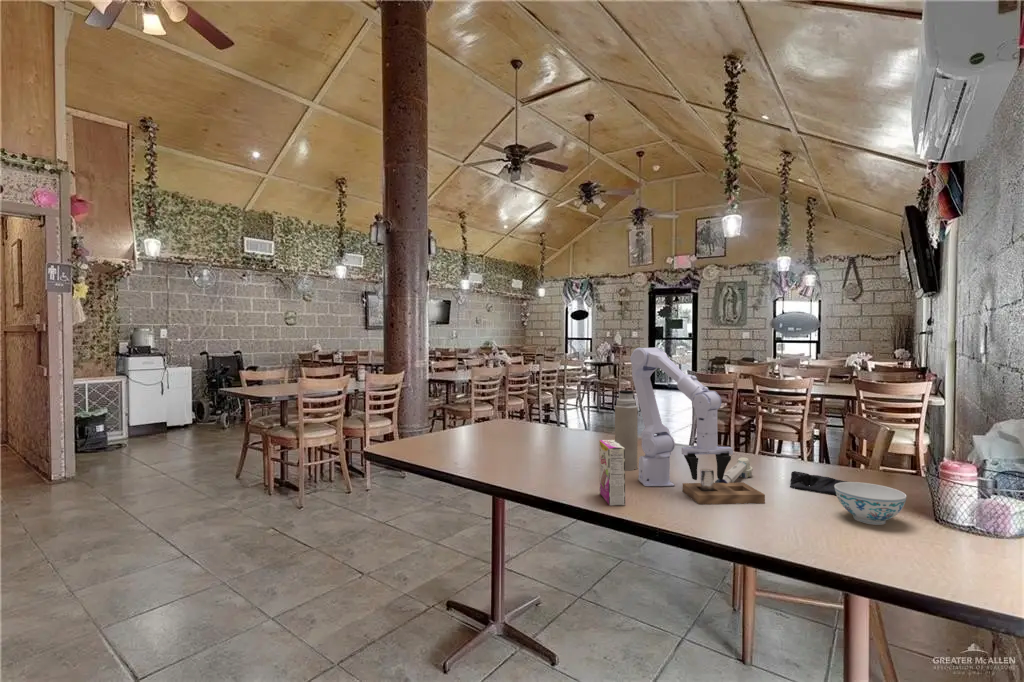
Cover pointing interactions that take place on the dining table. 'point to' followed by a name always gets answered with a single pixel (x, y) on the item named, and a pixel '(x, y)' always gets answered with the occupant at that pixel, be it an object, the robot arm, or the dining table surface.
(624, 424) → the thermos bottle
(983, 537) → the dining table surface
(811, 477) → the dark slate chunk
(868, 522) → the chinaware
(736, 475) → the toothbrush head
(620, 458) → the candy bar box
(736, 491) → the wooden holder tray
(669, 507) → the dining table surface
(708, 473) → the steel pin
